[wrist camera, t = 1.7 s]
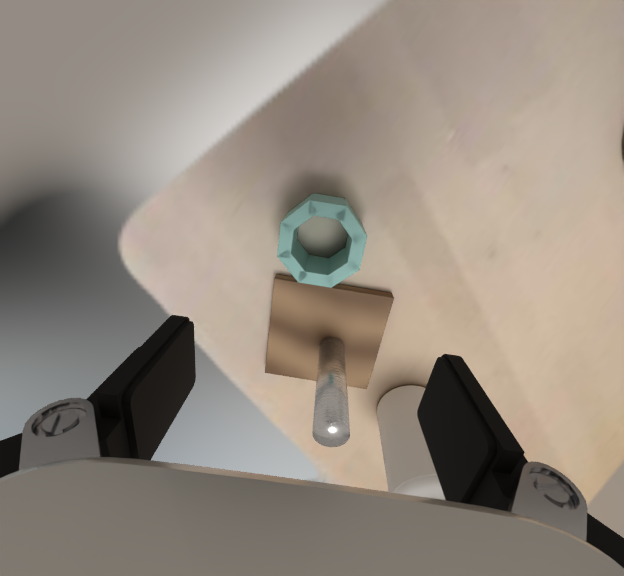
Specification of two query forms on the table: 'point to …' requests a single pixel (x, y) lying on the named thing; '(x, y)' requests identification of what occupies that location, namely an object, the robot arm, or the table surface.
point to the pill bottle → (406, 445)
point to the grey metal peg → (331, 395)
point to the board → (325, 327)
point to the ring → (313, 266)
